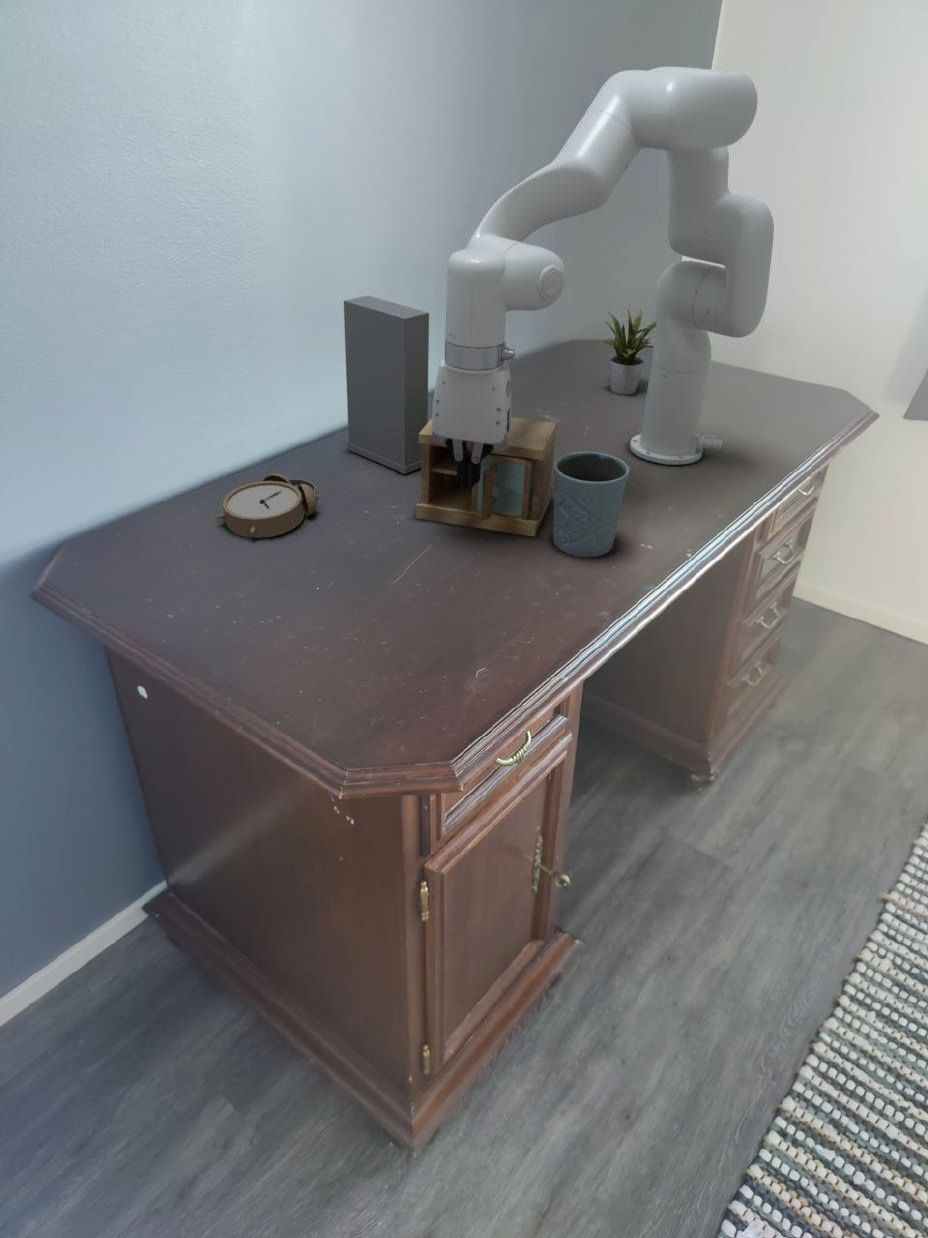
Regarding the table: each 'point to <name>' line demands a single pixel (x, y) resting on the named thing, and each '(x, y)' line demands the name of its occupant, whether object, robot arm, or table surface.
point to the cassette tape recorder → (386, 380)
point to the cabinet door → (503, 487)
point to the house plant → (627, 355)
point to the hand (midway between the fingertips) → (468, 485)
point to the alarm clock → (269, 506)
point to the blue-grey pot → (587, 502)
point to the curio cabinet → (454, 504)
